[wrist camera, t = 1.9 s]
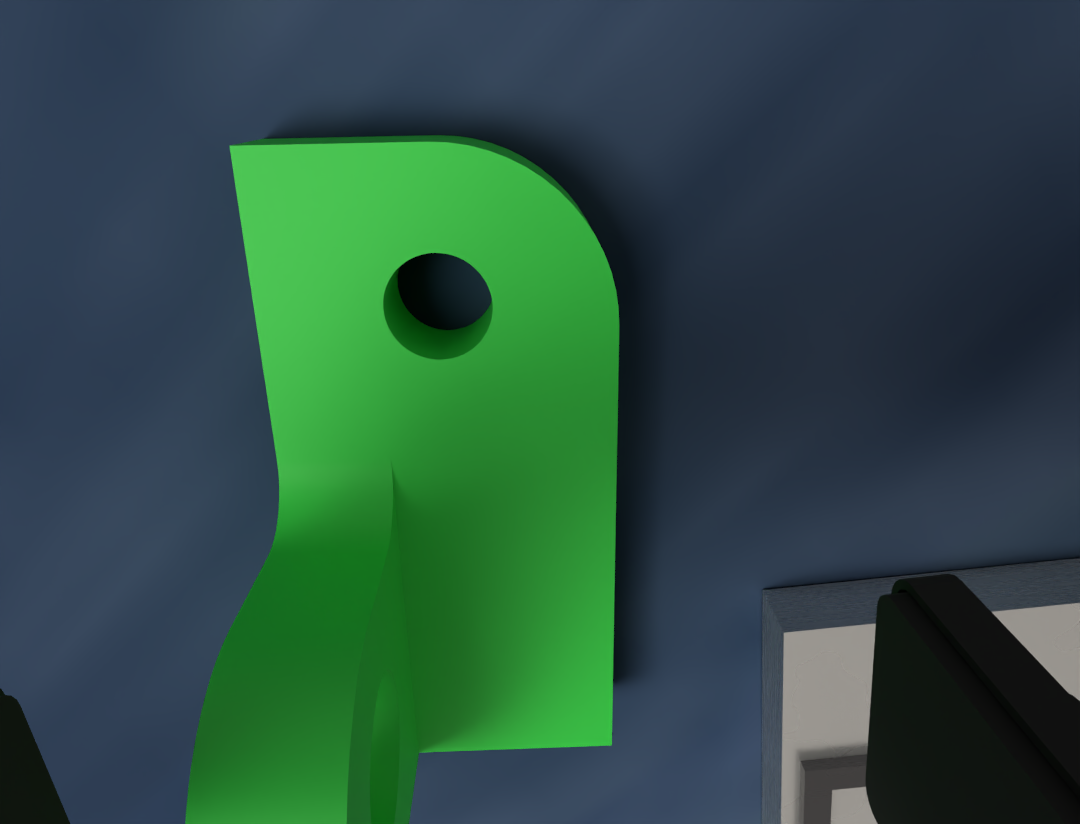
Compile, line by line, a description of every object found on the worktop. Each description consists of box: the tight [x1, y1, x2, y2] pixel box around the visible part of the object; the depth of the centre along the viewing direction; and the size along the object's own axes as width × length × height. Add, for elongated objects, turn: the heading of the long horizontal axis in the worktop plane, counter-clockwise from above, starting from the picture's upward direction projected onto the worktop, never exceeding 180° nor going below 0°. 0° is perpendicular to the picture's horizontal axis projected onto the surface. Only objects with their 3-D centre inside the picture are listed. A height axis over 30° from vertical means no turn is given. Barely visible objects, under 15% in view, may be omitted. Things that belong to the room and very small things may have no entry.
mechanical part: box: [185, 135, 619, 824], centre depth 13 cm, size 12×6×8 cm, turn 1°
